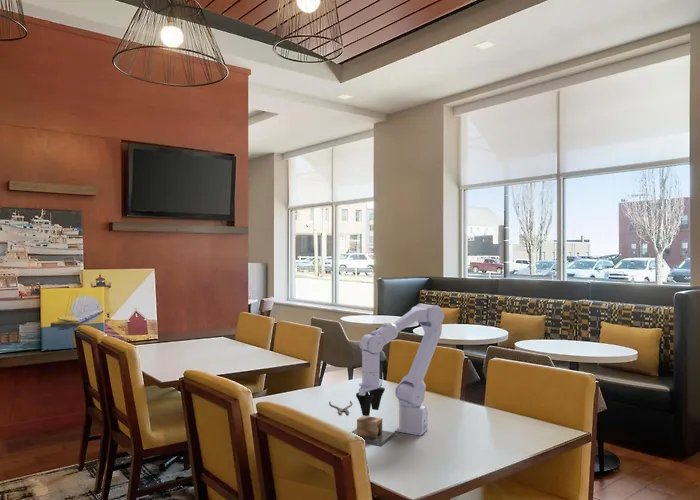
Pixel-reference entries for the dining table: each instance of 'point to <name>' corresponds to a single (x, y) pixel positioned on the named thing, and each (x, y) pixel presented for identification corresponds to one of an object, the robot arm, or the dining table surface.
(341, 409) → the pliers
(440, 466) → the dining table surface
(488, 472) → the dining table surface
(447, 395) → the dining table surface
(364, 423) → the box
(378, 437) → the base plate
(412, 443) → the dining table surface
